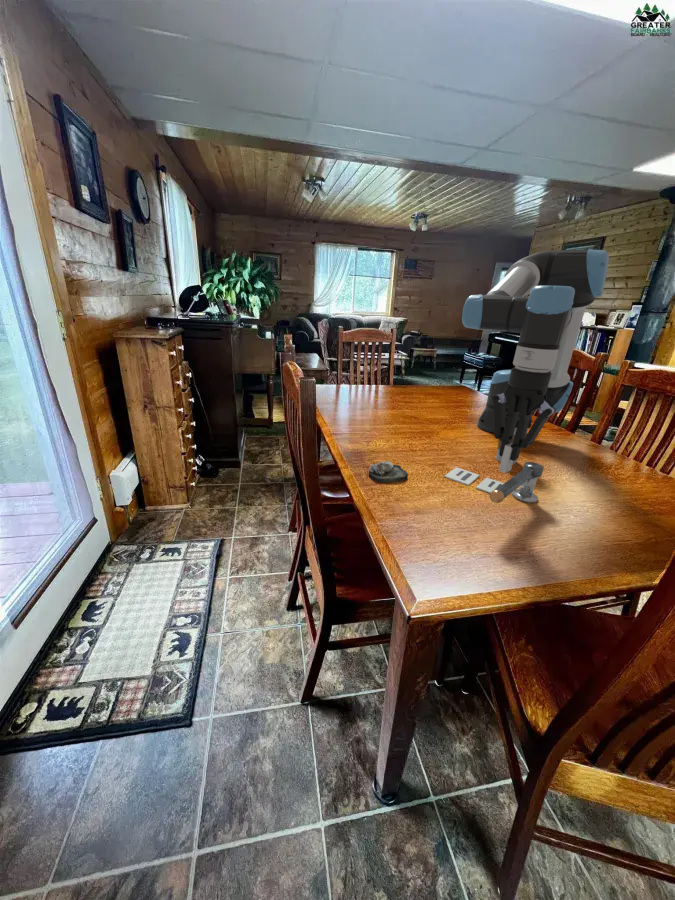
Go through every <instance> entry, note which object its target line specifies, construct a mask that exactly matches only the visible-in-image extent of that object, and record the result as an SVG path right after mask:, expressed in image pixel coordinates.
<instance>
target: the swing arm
mask: <svg viewBox="0 0 675 900" xmlns="http://www.w3.org/2000/svg"><path fill="white" fill-rule="evenodd" d="M544 469H545V467H544V466H543V465H541V464H540V463H537V462H534V461H525V462H524V463H523V467H522V470H521V471H519V472H517V473H516V474H515V475H514V476H512V477H511V478H509V480H507V481H505V482H503V483H504V484H503V485H501V486H500V487H499V488H497V489H496V490H493V491H492V492H491V493H489V499H490V501H491V502H493V503H495V504H499V503H502V502H503V501H504V499H505V498H507V497H508V496H509V495H512V492H513V491H514V490H516V489H519V488H521V485H522V484H523V483H525V482H526V481H527V480H528V479H530V478H531V477H532V476H533V477H538V478H539V477H542V475H543V472H544Z"/></svg>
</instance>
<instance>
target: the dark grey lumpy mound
mask: <svg viewBox="0 0 675 900" xmlns="http://www.w3.org/2000/svg"><path fill="white" fill-rule="evenodd" d="M368 476H369V478H370V479H372V480H373V481H375V482H377V483H381V484H383V483H398V482H399V483H400V482H403V481H405V480H407V478H408V476H409V474H408V472H407V470H404V469H403V468H402V467H401V466H400V465H399V464H392V461H386V460H385V461H379V462H378V463H377V464H376V463H374V464H372V465H369V467H368Z"/></svg>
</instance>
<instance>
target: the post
mask: <svg viewBox="0 0 675 900" xmlns="http://www.w3.org/2000/svg"><path fill="white" fill-rule="evenodd" d="M538 478H539V477H533V476H532V477H531V478H530V479H528V480H527V481H526V482H525V483H523V484H522V485H521V486H520V487H519V488H517V489H516V490H514V491H513V492H512V493H511V496H513V498H514V499H516V500H518V501H521V502H523V503H527V504H535V503H537V502H538V500H539V497H538V495H537V494H536V493H534V490H535V487H536V483H537V481H538Z"/></svg>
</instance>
